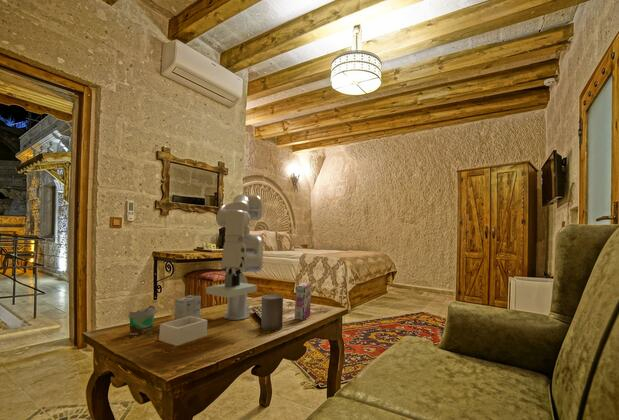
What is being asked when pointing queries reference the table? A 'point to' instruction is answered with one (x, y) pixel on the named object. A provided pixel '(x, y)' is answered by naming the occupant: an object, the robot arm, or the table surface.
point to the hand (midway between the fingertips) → (232, 284)
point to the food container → (142, 321)
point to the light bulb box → (187, 307)
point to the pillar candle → (272, 312)
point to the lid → (230, 288)
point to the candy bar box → (302, 301)
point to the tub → (183, 330)
